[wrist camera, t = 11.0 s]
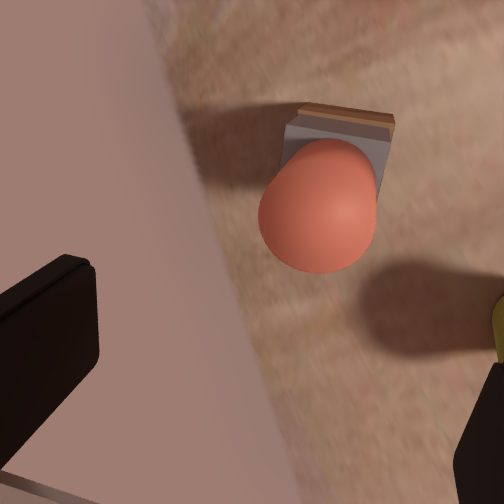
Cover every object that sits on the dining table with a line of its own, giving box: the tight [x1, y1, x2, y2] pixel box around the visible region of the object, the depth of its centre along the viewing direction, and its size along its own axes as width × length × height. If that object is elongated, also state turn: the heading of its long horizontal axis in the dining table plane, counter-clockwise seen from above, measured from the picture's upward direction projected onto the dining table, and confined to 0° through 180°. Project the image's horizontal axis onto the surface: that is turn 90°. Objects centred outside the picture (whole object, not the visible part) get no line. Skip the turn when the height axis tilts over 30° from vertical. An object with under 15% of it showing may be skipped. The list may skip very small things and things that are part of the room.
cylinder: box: [258, 138, 376, 274], centre depth 22 cm, size 5×5×6 cm
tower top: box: [279, 114, 391, 200], centre depth 27 cm, size 6×6×5 cm
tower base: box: [297, 102, 395, 202], centre depth 31 cm, size 6×6×5 cm
